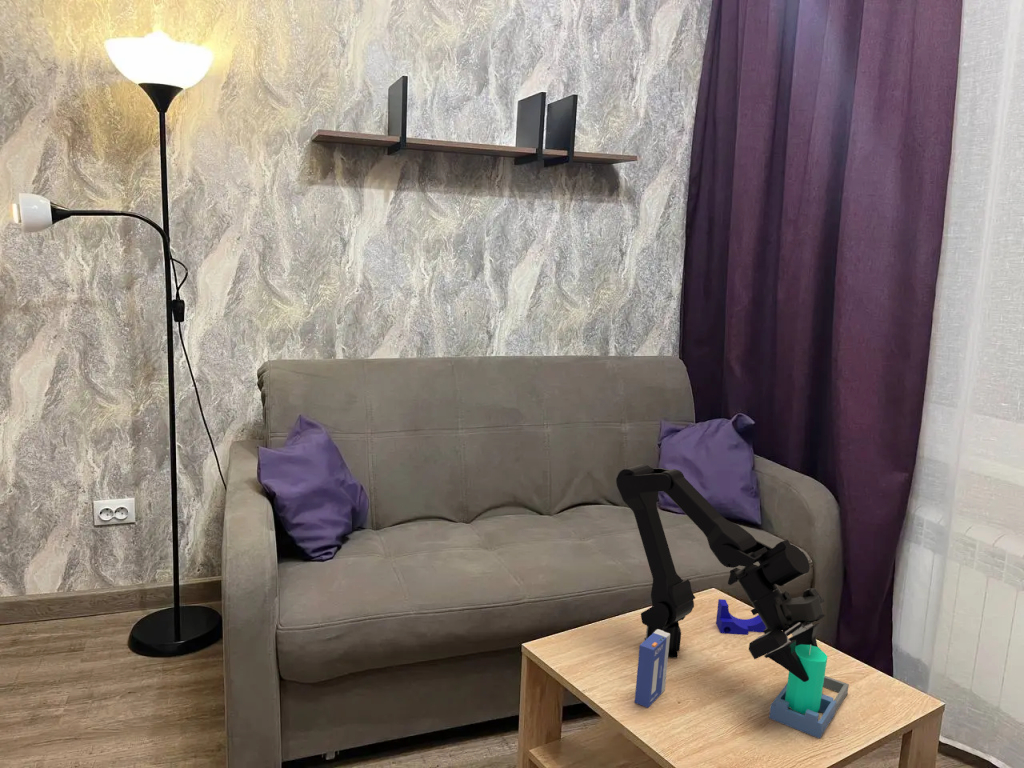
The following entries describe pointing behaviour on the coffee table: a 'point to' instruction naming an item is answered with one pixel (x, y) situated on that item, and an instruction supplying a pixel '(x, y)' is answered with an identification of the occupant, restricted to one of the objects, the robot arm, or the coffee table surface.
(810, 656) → the candle
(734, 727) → the coffee table surface
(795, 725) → the frame
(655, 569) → the robot arm
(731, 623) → the cable clip
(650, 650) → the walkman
